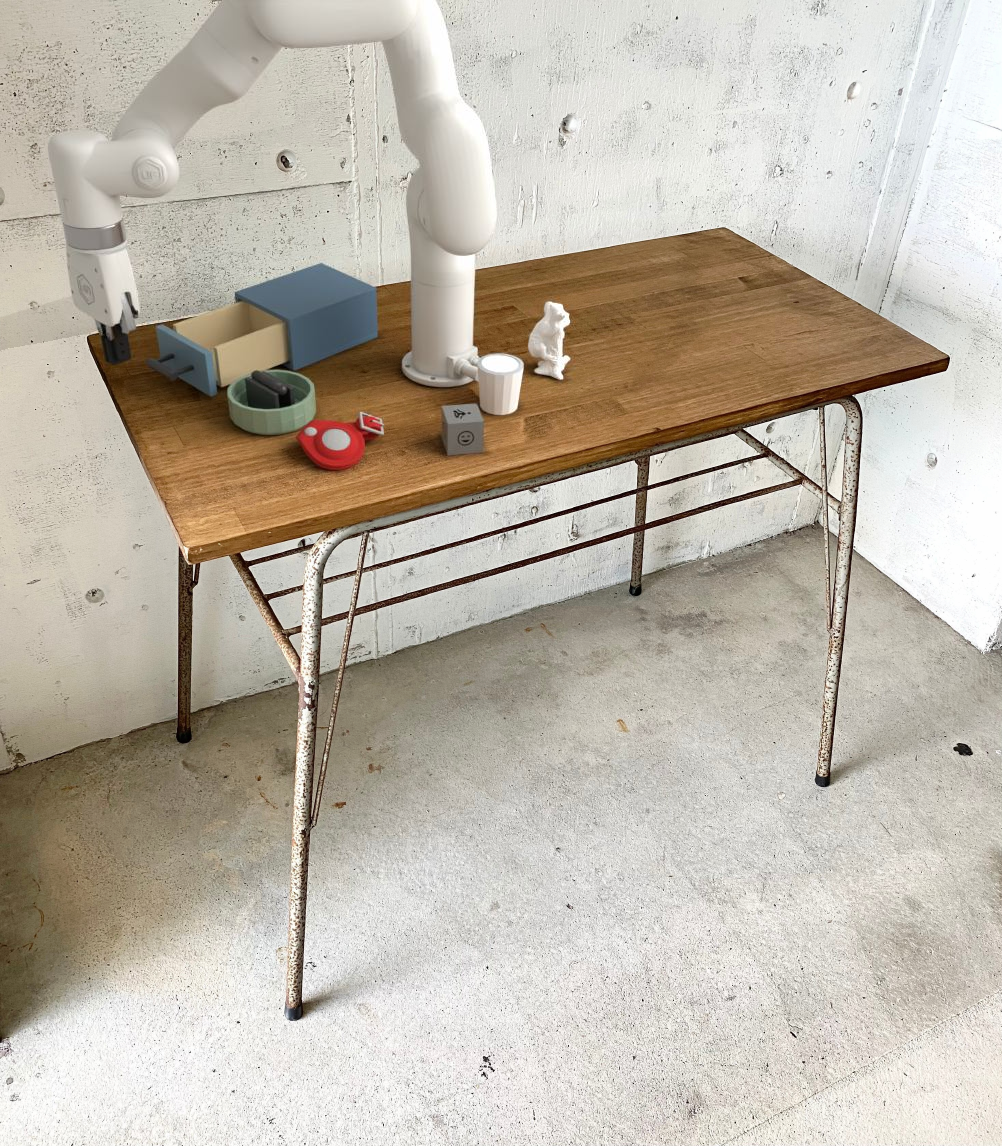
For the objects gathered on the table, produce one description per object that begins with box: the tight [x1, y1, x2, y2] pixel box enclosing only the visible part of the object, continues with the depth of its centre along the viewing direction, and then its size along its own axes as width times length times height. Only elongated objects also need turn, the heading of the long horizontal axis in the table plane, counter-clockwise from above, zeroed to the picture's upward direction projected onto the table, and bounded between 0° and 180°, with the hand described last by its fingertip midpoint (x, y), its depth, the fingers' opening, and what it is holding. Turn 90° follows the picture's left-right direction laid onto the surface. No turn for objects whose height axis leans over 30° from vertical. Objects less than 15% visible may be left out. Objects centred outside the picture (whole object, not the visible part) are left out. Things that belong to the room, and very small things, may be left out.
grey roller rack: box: [245, 370, 295, 409], centre depth 157 cm, size 7×3×6 cm, turn 48°
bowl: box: [226, 369, 317, 436], centre depth 158 cm, size 12×12×4 cm
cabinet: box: [234, 262, 379, 372], centre depth 176 cm, size 18×14×9 cm
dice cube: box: [440, 403, 485, 456], centre depth 153 cm, size 5×5×5 cm
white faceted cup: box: [477, 352, 525, 416], centre depth 162 cm, size 7×7×7 cm
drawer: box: [145, 300, 290, 397], centre depth 166 cm, size 21×12×7 cm, turn 138°
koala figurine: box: [527, 301, 571, 381], centre depth 170 cm, size 8×7×12 cm
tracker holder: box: [295, 411, 385, 471], centre depth 152 cm, size 12×4×10 cm
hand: (118, 360), depth 154 cm, fingers closed
